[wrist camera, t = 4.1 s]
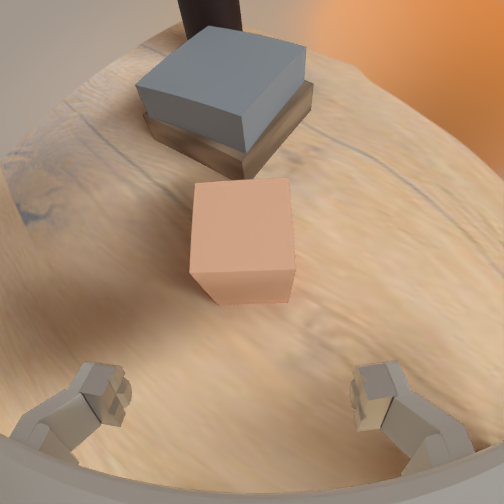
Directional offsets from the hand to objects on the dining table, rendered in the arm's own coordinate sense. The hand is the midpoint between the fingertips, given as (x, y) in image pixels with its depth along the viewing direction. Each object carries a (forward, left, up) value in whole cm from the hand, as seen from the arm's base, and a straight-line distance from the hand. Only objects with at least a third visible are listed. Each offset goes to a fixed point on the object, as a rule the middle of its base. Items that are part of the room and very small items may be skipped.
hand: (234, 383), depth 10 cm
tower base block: (-14, +17, -12) cm, 25 cm away
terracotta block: (-4, +6, -11) cm, 13 cm away
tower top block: (-14, +17, -8) cm, 23 cm away
